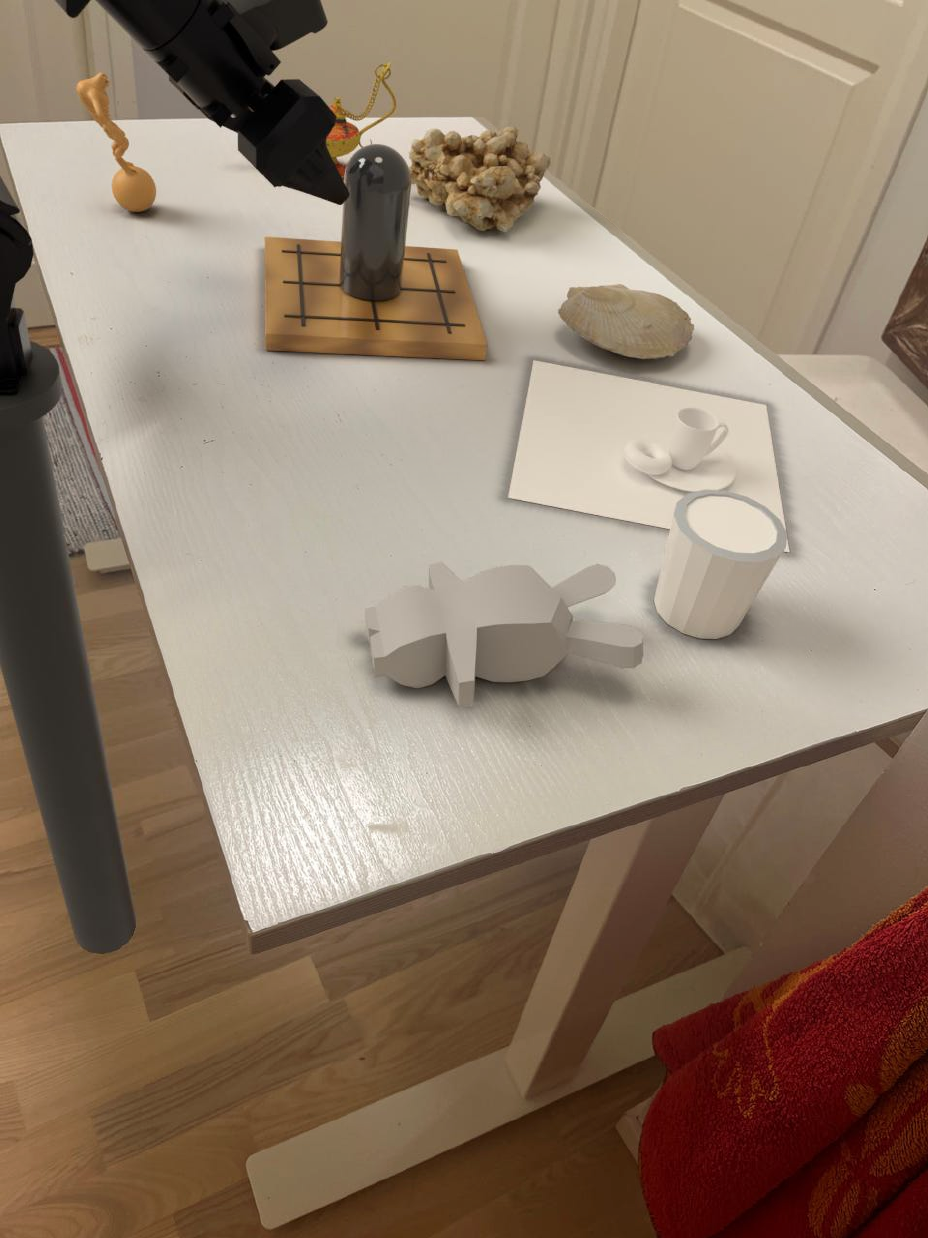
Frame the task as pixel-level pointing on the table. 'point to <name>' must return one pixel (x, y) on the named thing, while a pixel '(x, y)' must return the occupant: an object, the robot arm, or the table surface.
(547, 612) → the bunny figurine
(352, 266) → the dark domed cylinder
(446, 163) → the mineral formation
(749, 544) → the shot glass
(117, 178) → the figurine
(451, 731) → the table surface
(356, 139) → the magic lamp
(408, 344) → the board
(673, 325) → the seashell
